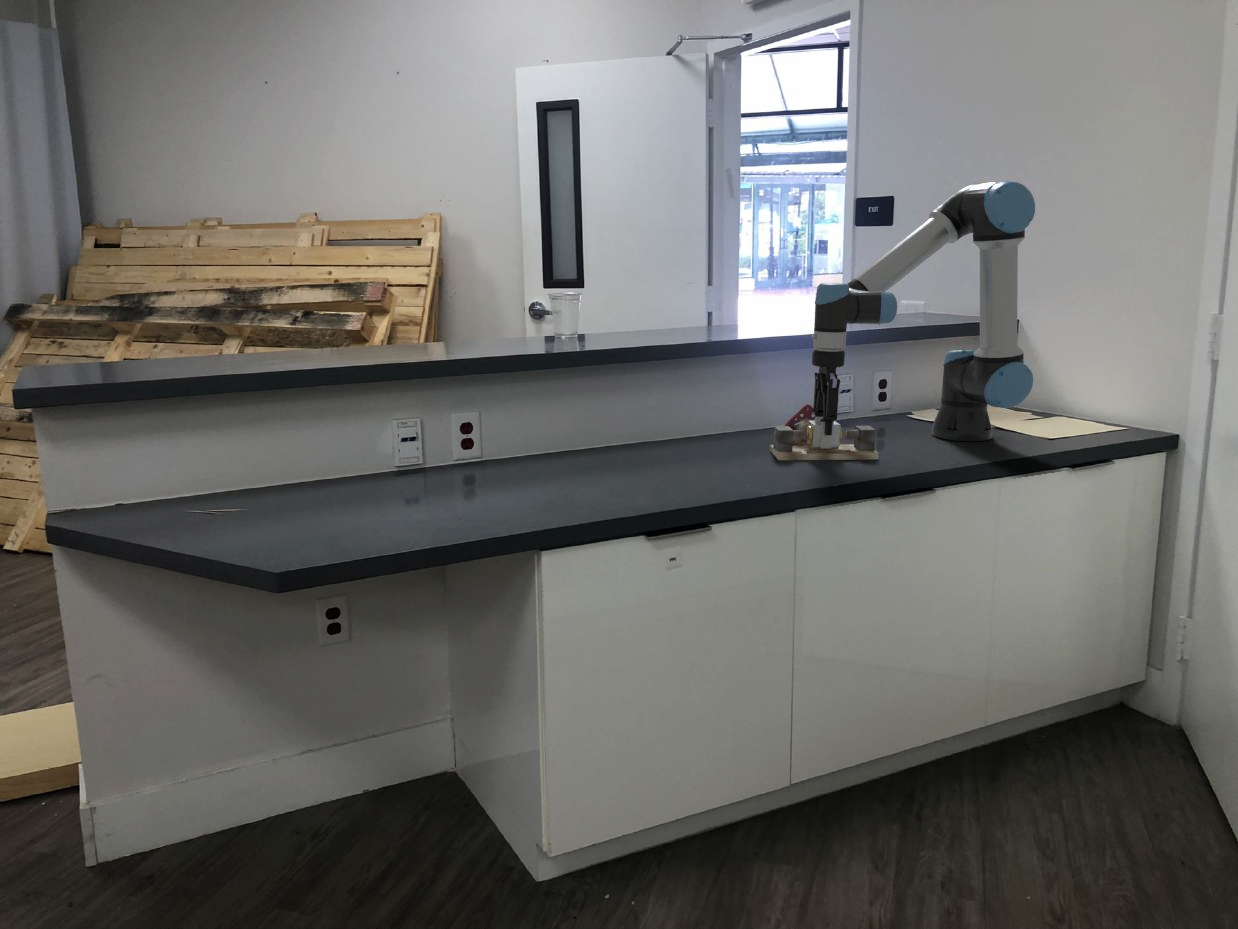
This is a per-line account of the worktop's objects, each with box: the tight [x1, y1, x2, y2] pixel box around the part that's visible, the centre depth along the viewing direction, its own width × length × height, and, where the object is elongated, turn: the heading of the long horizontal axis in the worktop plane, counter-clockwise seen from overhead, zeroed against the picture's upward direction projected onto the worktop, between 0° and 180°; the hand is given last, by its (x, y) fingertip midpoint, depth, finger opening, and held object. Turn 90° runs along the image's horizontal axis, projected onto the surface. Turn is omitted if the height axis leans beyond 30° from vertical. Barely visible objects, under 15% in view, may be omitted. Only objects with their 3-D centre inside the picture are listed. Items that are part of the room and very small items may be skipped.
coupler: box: [805, 420, 843, 449], centre depth 233 cm, size 8×5×6 cm, turn 93°
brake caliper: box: [784, 403, 817, 445], centre depth 242 cm, size 11×11×12 cm
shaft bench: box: [769, 425, 880, 461], centre depth 234 cm, size 24×10×7 cm, turn 93°
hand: (822, 445), depth 234 cm, fingers closed on coupler, 5 cm apart
